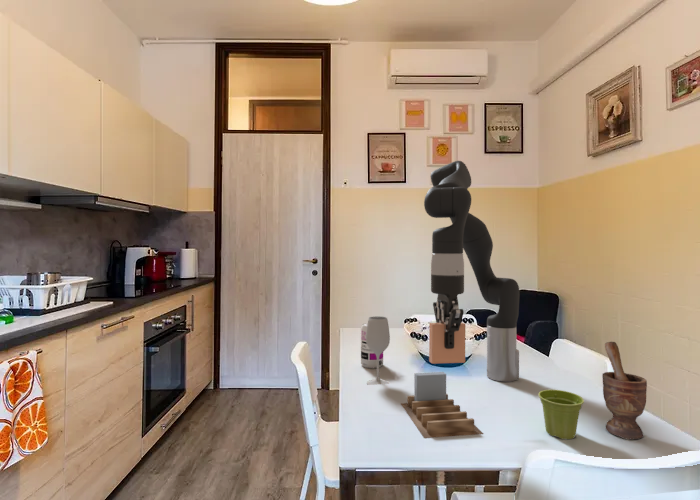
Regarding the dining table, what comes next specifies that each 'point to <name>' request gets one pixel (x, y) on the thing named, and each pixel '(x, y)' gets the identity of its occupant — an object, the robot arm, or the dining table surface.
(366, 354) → the supplement can
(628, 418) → the mortar and pestle
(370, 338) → the wineglass
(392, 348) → the dining table surface
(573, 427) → the plant pot
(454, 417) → the dish rack
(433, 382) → the grey-blue thick slab
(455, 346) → the salmon pink rectangular prism
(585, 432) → the dining table surface
